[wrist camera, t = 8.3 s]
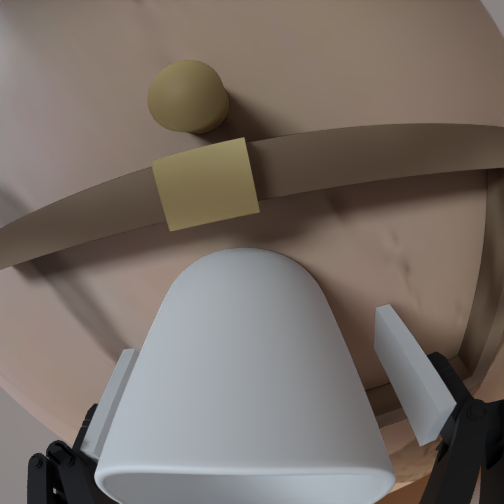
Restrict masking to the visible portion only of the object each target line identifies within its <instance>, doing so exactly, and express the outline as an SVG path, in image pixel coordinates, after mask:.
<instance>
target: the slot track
mask: <svg viewBox="0 0 504 504" xmlns="http://www.w3.org/2000/svg"><path fill="white" fill-rule="evenodd" d="M148 107H149V110H150V113H151V115H152V116H153V118H154V119H155V120H156V122H158V123H159V124H160V125H161V126H163V127H165V128H167V129H169V130H172V131H179V132H188V133H197V134H201V133H207V132H210V131H212V130H214V129H216V128H217V127H219V126H220V125H221V124H222V123H223V122H224V120H225V119H226V117H227V115H228V112H229V98H228V95H227V93H226V91H225V88H224V86H223V84H222V82H221V79H220V77H219V76H218V74H217V73H216V71H215V70H214V69H213V68H211V67H210V66H209V65H207V64H205V63H203V62H200V61H195V60H183V61H178V62H175V63H172V64H170V65H169V66H167V67H165V68H164V69H163V70H161V71H160V72H159V73H158V74H157V76H156V77H155V78H154V80H153V81H152V83H151V86H150V88H149V92H148ZM151 165H152V167H149V168H146V169H143V170H140V171H137V172H134V173H131V174H128V175H125V176H122V177H119V178H116V179H113V180H110V181H107V182H105V183H102V184H99V185H97V186H94V187H91V188H89V189H86V190H84V191H81V192H78V193H76V194H74V195H71V196H69V197H66V198H64V199H61V200H59V201H57V202H55V203H52V204H50V205H48V206H45V207H43V208H41V209H39V210H37V211H35V212H32V213H30V214H28V215H26V216H24V217H22V218H20V219H18V220H16V221H14V222H12V223H10V224H8V225H6V226H4V227H2V228H1V229H0V270H1V269H4V268H7V267H10V266H13V265H16V264H19V263H22V262H25V261H28V260H31V259H34V258H37V257H40V256H43V255H46V254H50V253H53V252H56V251H59V250H63V249H66V248H69V247H73V246H76V245H79V244H83V243H86V242H90V241H93V240H97V239H100V238H104V237H107V236H111V235H115V234H118V233H122V232H126V231H130V230H133V229H137V228H141V227H145V226H149V225H153V224H157V223H161V222H165V221H167V223H168V227H169V230H170V232H171V231H175V230H180V229H184V228H188V227H193V226H197V225H202V224H206V223H211V222H216V221H220V220H225V219H230V218H235V217H239V216H244V215H249V214H254V213H259V212H260V210H259V205H258V201H260V200H265V199H270V198H275V197H280V196H286V195H291V194H297V193H302V192H308V191H314V190H319V189H325V188H331V187H338V186H344V185H350V184H357V183H364V182H370V181H377V180H385V179H392V178H400V177H408V176H416V175H425V174H434V173H443V172H453V171H464V170H476V169H487V210H486V225H485V236H484V245H483V253H482V260H481V266H480V272H479V278H478V283H477V288H476V293H475V297H474V302H473V306H472V310H471V314H470V318H469V322H468V325H467V329H466V332H465V335H464V339H463V342H462V345H461V348H460V351H459V354H458V356H457V357H455V358H452V359H450V360H448V362H449V363H450V364H451V367H453V369H454V370H455V372H456V374H458V376H459V377H460V379H461V380H462V382H463V383H464V385H465V386H466V388H467V389H468V390H469V389H471V388H473V387H474V386H476V385H478V384H480V383H481V382H482V381H483V379H484V377H485V375H486V372H487V370H488V368H489V366H490V364H491V362H492V359H493V357H494V355H495V352H496V350H497V347H498V345H499V342H500V340H501V337H502V335H503V332H504V127H497V126H485V125H470V124H439V123H421V124H389V125H373V126H360V127H348V128H339V129H330V130H321V131H314V132H306V133H299V134H293V135H286V136H280V137H275V138H269V139H263V140H258V141H253V142H248V143H245V138H244V137H243V138H238V139H234V140H229V141H225V142H220V143H216V144H212V145H208V146H204V147H200V148H196V149H192V150H188V151H184V152H181V153H177V154H174V155H170V156H167V157H163V158H160V159H157V160H153V161H151ZM365 392H366V395H367V397H368V400H369V403H370V405H371V408H372V411H373V413H374V416H375V419H376V421H377V424H378V427H379V428H381V427H384V426H387V425H390V424H393V423H395V422H398V421H401V420H403V419H406V418H407V416H406V414H405V411H404V409H403V407H402V405H401V403H400V401H399V399H398V397H397V394H396V392H395V390H394V388H393V386H392V384H391V383H389V384H386V385H383V386H379V387H376V388H373V389H370V390H366V391H365Z"/></svg>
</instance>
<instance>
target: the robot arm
mask: <svg viewBox="0 0 504 504" xmlns="http://www.w3.org/2000/svg"><path fill="white" fill-rule="evenodd" d="M373 348H374V350H375V352H376V354H377V356H378V358H379V360H380V362H381V364H382V366H383V368H384V370H385V372H386V374H387V376H388V378H389V380H390V382H391V384H392V386H393V388H394V390H395V392H396V394H397V397H398V399H399V401H400V403H401V405H402V407H403V409H404V411H405V414H406V416H407V418H408V420H409V422H410V425H411V427H412V429H413V431H414V434H415V436H416V438H417V441H418V443H419V445H420V446H423V445H425V444H427V443H429V442H431V441H434V440H436V438H437V437H438V435H439V433H440V434H441V437H442V441H441V442H440V444H439V445H438V447H437V449H436V450H439V451H438V454H437V457H436V461H435V464H434V467H433V469H432V472H431V475H430V478H429V481H428V483H427V486H426V488H425V491H424V493H423V496H422V498H421V500H420V503H419V504H470V502H471V499H472V495H473V492H474V489H475V485H476V482H477V478H478V474H479V470H480V466H481V484H480V500H479V504H504V399H503V400H499V401H494V402H490V403H485V402H483V401H482V400H478V399H474V398H473V397H472V395H471V394H470V392H469V391H468V389H467V388H466V386H465V385H464V383H463V382H462V380H461V379H460V377H459V376H458V374H456V372H455V370H454V369H453V367H451V364H450V363H449V362H448V360H447V359H446V357H444V356H443V355H441V354H440V353H438V352H434V353H432V354H429V355H427V356H426V354H425V353H424V352H423V350H422V349H421V347H420V346H419V344H418V343H417V341H416V340H415V338H414V337H413V336H412V334H411V333H410V331H409V330H408V329H407V327H406V326H405V324H404V323H403V322H402V320H401V319H400V317H399V316H398V315H397V313H396V312H395V311H394V309H393V308H392V307H391V305H390V304H387V305H384V306H380V307H376V315H375V332H374V345H373ZM138 356H139V354H138V352H137V350H136V348H134V349H124V350H123V352H122V354H121V356H120V358H119V360H118V363H117V365H116V367H115V369H114V371H113V373H112V375H111V377H110V380H109V382H108V384H107V386H106V388H105V390H104V393H103V395H102V397H101V399H100V402H99V404H94V405H93V406H92V407H91V408H90V409H89V410H88V412H87V414H86V416H85V421H83V423H82V427H81V428H80V430H79V433H78V435H77V438H76V440H75V442H74V445H73V447H72V449H71V448H70V447H69V446H68V445H67V444H66V443H64V442H63V441H60V440H57V441H54V442H52V443H51V444H50V445H49V446H48V448H47V451H46V456H47V457H48V458H49V459H48V458H47V457H46V456H44V455H43V454H41V453H36V454H34V455H33V456H32V457H31V458H30V460H29V464H28V481H27V482H28V483H27V504H120V503H118V502H116V501H115V500H113V499H112V498H110V497H109V496H107V495H106V494H105V493H104V492H103V491H102V490H101V489H100V488H99V487H98V486H97V484H96V482H95V478H94V475H95V471H96V468H97V465H98V462H99V459H100V456H101V453H102V450H103V447H104V444H105V441H106V439H107V436H108V433H109V430H110V427H111V425H112V422H113V419H114V416H115V414H116V411H117V408H118V406H119V403H120V401H121V398H122V395H123V393H124V390H125V388H126V385H127V383H128V380H129V378H130V375H131V373H132V371H133V368H134V366H135V363H136V361H137V359H138ZM53 488H54V489H56V494H55V493H53Z"/></svg>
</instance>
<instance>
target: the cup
mask: <svg viewBox="0 0 504 504" xmlns="http://www.w3.org/2000/svg"><path fill="white" fill-rule="evenodd" d="M94 478H95V482H96V484H97V486H98V487H99V488H100V489H101V490H102V491H103V492H104V493H105V494H106V495H107V496H109V497H110V498H112V499H113V500H115V501H116V502H118V503H120V504H373V503H375V502H377V501H378V500H380V499H381V498H383V497H384V496H385V495H386V494H388V493H389V492H390V491H391V489H392V488H393V487H394V485H395V482H396V476H395V473H394V470H393V467H392V464H391V461H390V458H389V455H388V452H387V449H386V446H385V443H384V441H383V438H382V435H381V432H380V429H379V427H378V424H377V421H376V419H375V416H374V413H373V411H372V408H371V405H370V403H369V400H368V397H367V395H366V392H365V390H364V387H363V385H362V382H361V380H360V377H359V375H358V372H357V370H356V367H355V365H354V362H353V360H352V357H351V355H350V353H349V350H348V348H347V345H346V343H345V341H344V338H343V336H342V334H341V331H340V329H339V327H338V324H337V322H336V320H335V317H334V315H333V313H332V311H331V308H330V306H329V304H328V302H327V299H326V297H325V295H324V293H323V292H322V290H321V288H320V287H319V285H318V283H317V282H316V281H315V280H314V278H313V277H312V276H311V275H310V274H309V273H308V272H307V271H306V270H305V269H304V268H303V267H302V266H301V265H299V264H298V263H296V262H295V261H293V260H292V259H290V258H288V257H286V256H284V255H281V254H279V253H276V252H272V251H269V250H264V249H259V248H231V249H226V250H221V251H218V252H214V253H211V254H209V255H206V256H204V257H202V258H200V259H198V260H197V261H195V262H194V263H192V264H191V265H190V266H188V267H187V268H186V269H185V270H184V271H183V272H182V273H181V274H180V275H179V276H178V277H177V279H176V280H175V281H174V282H173V284H172V286H171V287H170V289H169V291H168V292H167V294H166V296H165V298H164V300H163V302H162V304H161V306H160V309H159V311H158V313H157V315H156V317H155V320H154V322H153V324H152V326H151V329H150V331H149V333H148V335H147V338H146V340H145V342H144V344H143V347H142V349H141V351H140V354H139V356H138V359H137V361H136V363H135V366H134V368H133V371H132V373H131V375H130V378H129V380H128V383H127V385H126V388H125V390H124V393H123V395H122V398H121V401H120V403H119V406H118V408H117V411H116V414H115V416H114V419H113V422H112V425H111V427H110V430H109V433H108V436H107V439H106V441H105V444H104V447H103V450H102V453H101V456H100V459H99V462H98V465H97V468H96V471H95V475H94Z"/></svg>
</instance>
